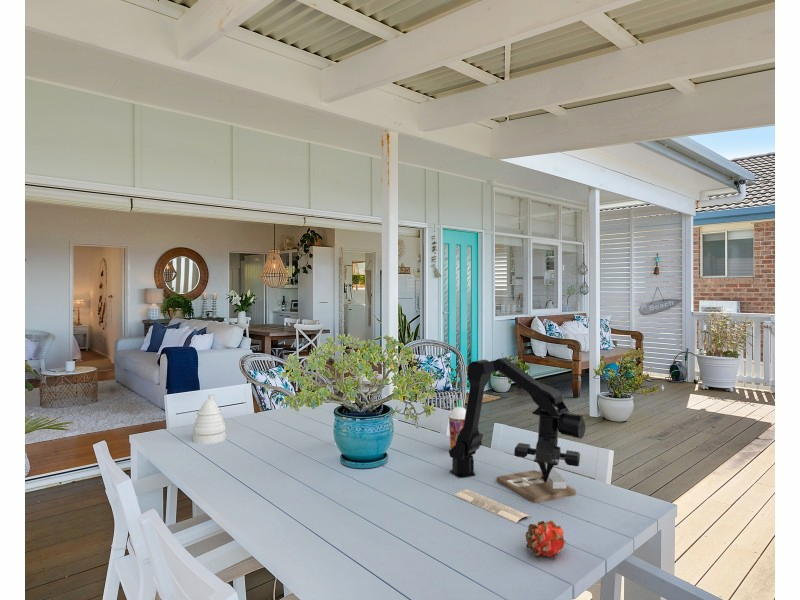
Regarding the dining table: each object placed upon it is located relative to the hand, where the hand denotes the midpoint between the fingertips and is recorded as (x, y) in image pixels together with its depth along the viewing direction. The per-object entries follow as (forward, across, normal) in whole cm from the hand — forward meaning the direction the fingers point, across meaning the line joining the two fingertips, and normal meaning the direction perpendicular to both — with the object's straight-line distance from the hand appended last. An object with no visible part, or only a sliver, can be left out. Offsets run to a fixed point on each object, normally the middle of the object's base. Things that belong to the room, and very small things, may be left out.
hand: (545, 482), depth 158 cm
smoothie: (+6, -37, +33) cm, 50 cm away
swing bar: (+1, +1, +6) cm, 6 cm away
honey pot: (+10, -136, +6) cm, 136 cm away
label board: (+5, -4, +6) cm, 9 cm away
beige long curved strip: (+6, -14, -14) cm, 20 cm away
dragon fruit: (+5, +5, -35) cm, 35 cm away
